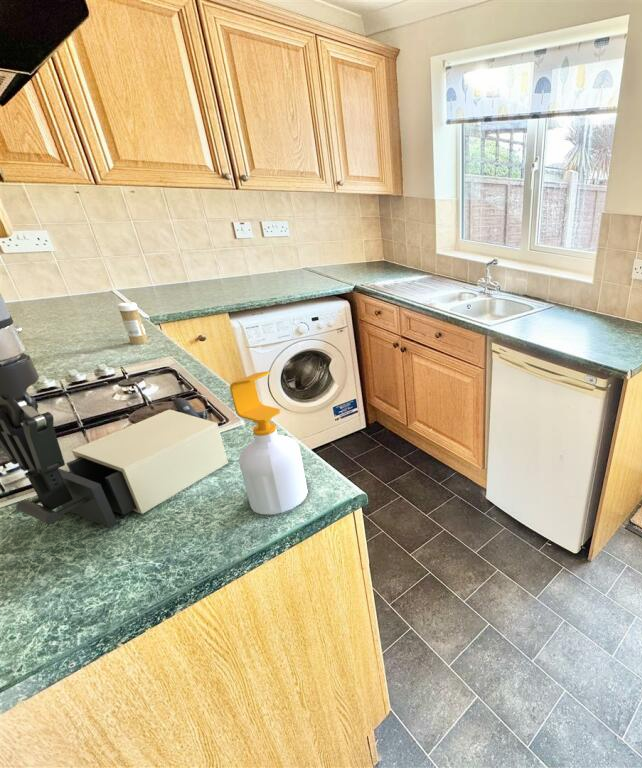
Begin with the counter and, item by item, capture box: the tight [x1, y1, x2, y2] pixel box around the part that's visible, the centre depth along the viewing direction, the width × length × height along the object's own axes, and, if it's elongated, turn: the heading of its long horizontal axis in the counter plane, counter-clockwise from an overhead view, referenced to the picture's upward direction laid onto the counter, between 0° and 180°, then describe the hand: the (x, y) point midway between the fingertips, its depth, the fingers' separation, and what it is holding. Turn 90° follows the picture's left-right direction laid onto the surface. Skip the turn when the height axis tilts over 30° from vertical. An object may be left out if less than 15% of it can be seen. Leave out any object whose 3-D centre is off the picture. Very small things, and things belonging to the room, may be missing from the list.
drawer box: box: [71, 409, 229, 515], centre depth 76 cm, size 16×13×10 cm
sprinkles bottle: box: [116, 301, 149, 346], centre depth 133 cm, size 5×5×14 cm
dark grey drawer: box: [15, 457, 137, 529], centre depth 69 cm, size 20×11×8 cm, turn 161°
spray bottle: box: [229, 370, 308, 516], centre depth 70 cm, size 9×9×25 cm
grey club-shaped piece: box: [173, 397, 210, 420], centre depth 94 cm, size 18×7×6 cm, turn 43°
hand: (58, 503), depth 63 cm, fingers closed
